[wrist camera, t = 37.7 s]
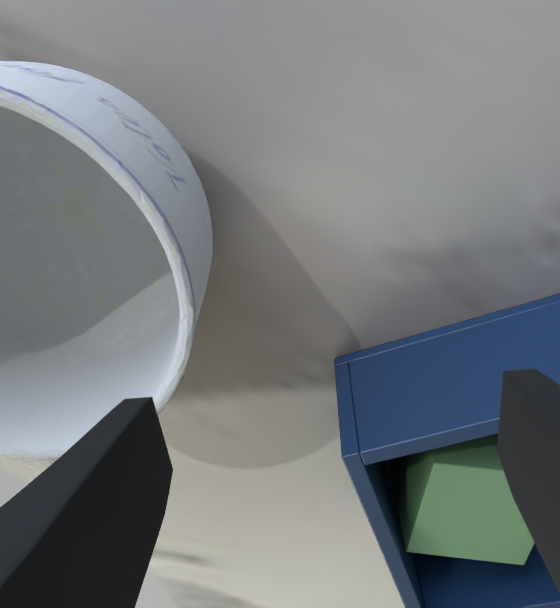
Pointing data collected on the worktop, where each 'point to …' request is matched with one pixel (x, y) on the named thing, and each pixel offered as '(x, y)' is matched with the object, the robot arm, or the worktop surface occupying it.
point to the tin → (442, 439)
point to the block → (460, 504)
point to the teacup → (91, 256)
